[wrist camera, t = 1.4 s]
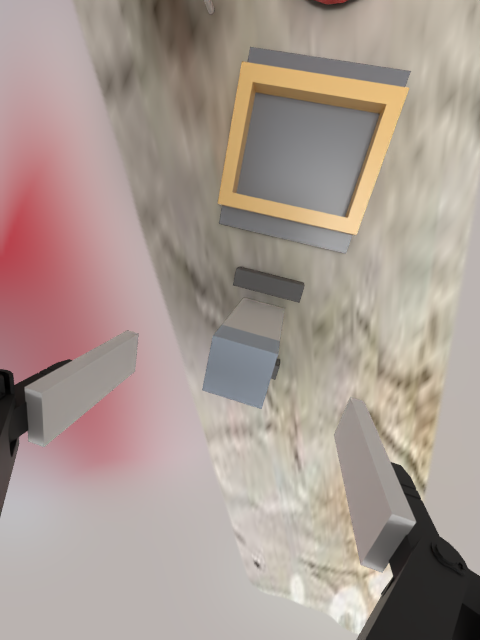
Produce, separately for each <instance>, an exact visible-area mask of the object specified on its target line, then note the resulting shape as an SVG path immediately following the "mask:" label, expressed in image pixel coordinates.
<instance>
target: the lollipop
mask: <svg viewBox="0 0 480 640" xmlns="http://www.w3.org/2000/svg"><path fill="white" fill-rule="evenodd" d="M204 2H205V5H206V7H207V10H208V12H209V14H212V13H213V12H214V7H213V4H212V1H211V0H204Z"/></svg>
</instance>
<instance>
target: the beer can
mask: <svg viewBox="0 0 480 640" xmlns="http://www.w3.org/2000/svg"><path fill="white" fill-rule="evenodd" d="M315 1H318V2H321V3H324V4H336V3H344V2H346V1H348V0H315Z"/></svg>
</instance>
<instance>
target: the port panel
mask: <svg viewBox="0 0 480 640" xmlns="http://www.w3.org/2000/svg"><path fill="white" fill-rule="evenodd" d="M410 72H411V71H406V70H400V69H393V68H386V67H380V66H373V65H367V64H360V63H353V62H347V61H340V60H333V59H327V58H320V57H314V56H307V55H300V54H294V53H287V52H281V51H274V50H267V49H261V48H254V47H250V51H249V57H248V62H243V61H242V64H241V70H240V76H239V81H238V87H237V93H236V99H235V105H234V111H233V116H232V122H231V128H230V134H229V140H228V146H227V152H226V157H225V163H224V169H223V175H222V181H221V187H220V193H219V198H218V204H221V205H222V209H221V215H220V221H219V224H223V225H227V226H231V227H236V228H240V229H244V230H248V231H252V232H257V233H261V234H265V235H269V236H274V237H278V238H282V239H286V240H291V241H295V242H299V243H303V244H307V245H312V246H316V247H320V248H324V249H329V250H333V251H337V252H341V253H346V252H347V249H348V247H349V244H350V241H351V238H352V235H357V232H358V229H359V227H360V224H361V221H362V218H363V216H364V213H365V210H366V207H367V204H368V202H369V199H370V196H371V193H372V190H373V188H374V185H375V182H376V179H377V177H378V174H379V171H380V168H381V165H382V163H383V160H384V157H385V154H386V152H387V149H388V146H389V143H390V140H391V138H392V135H393V132H394V129H395V127H396V124H397V121H398V118H399V115H400V113H401V110H402V107H403V104H404V101H405V99H406V96H407V93H408V90H409V88H407V87H405V86H406V83H407V80H408V77H409V75H410Z"/></svg>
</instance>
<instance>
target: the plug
mask: <svg viewBox="0 0 480 640" xmlns="http://www.w3.org/2000/svg"><path fill="white" fill-rule="evenodd" d="M284 310H285V308H282V307H278V306H274V305H270V304H267V303H263V302H259V301H256V300H252V299H248V298H243V299H242V300H241V302H240V303H239V304H238V305H237V307H236V308H235V309H234V310H233V311H232V313H231V314H230V315H229V316H228V318H227V319H226V320H225V321H224V323H223V324H222V325H221V326H220V328H219V329H218V330H217V331H216V332H215V334H214V335H213V338H212V343H211V348H210V353H209V358H208V363H207V369H206V374H205V379H204V384H203V389H202V390H203V391H206V392H209V393H213V394H216V395H219V396H222V397H225V398H228V399H231V400H235V401H238V402H241V403H244V404H247V405H250V406H253V407H257V408H260V409H262V406H263V402H264V399H265V396H266V393H267V389H268V386H269V383H270V379H271V376H272V373H273V370H274V366H275V363H276V360H277V356H278V352H279V345H280V338H281V331H282V324H283V317H284Z"/></svg>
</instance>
